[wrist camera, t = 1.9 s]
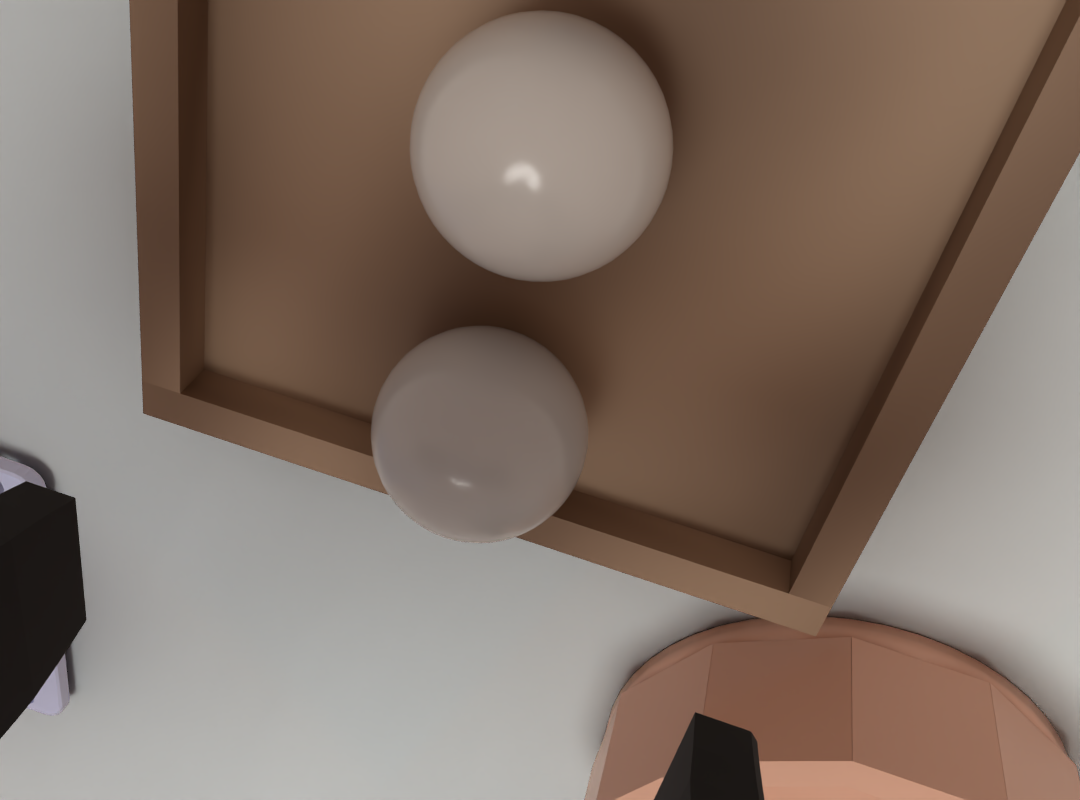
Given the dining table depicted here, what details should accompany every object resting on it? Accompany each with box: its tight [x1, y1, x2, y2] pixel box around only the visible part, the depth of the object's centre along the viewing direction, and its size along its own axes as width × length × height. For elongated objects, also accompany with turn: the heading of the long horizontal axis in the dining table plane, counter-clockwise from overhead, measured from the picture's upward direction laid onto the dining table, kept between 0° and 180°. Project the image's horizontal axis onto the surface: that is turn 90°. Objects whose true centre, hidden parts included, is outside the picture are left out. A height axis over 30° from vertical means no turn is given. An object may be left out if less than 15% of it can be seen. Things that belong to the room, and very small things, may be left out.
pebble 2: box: [371, 326, 588, 543], centre depth 15 cm, size 3×3×3 cm
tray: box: [129, 0, 1080, 636], centre depth 14 cm, size 12×14×1 cm
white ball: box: [410, 10, 673, 282], centre depth 12 cm, size 3×3×3 cm
